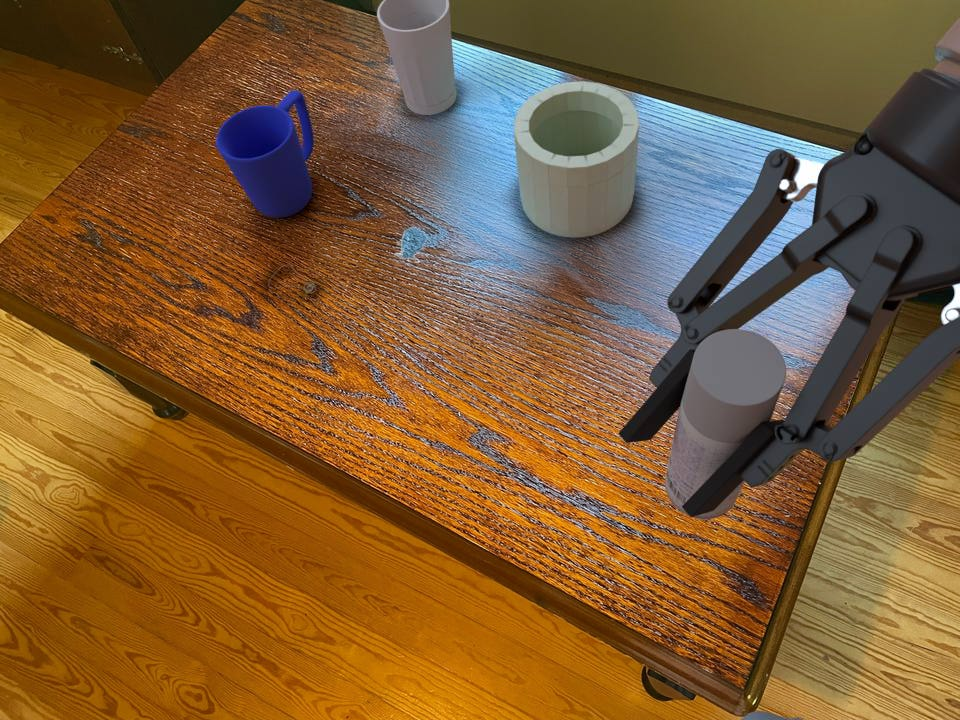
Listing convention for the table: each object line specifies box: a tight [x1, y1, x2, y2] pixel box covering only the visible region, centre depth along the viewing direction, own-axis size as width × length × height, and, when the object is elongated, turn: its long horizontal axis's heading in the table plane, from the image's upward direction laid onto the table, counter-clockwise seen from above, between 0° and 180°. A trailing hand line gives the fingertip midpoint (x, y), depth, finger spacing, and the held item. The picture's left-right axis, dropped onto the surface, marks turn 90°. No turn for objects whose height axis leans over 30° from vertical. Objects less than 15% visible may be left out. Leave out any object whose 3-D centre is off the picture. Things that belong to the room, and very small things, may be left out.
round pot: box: [513, 80, 640, 239], centre depth 80 cm, size 12×12×10 cm
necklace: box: [267, 264, 317, 294], centre depth 82 cm, size 3×5×1 cm, turn 81°
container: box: [664, 328, 787, 520], centre depth 45 cm, size 5×5×15 cm
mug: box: [215, 89, 315, 219], centre depth 86 cm, size 8×12×10 cm
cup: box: [376, 0, 458, 116], centre depth 91 cm, size 8×8×12 cm
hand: (665, 471), depth 44 cm, fingers closed on container, 5 cm apart
